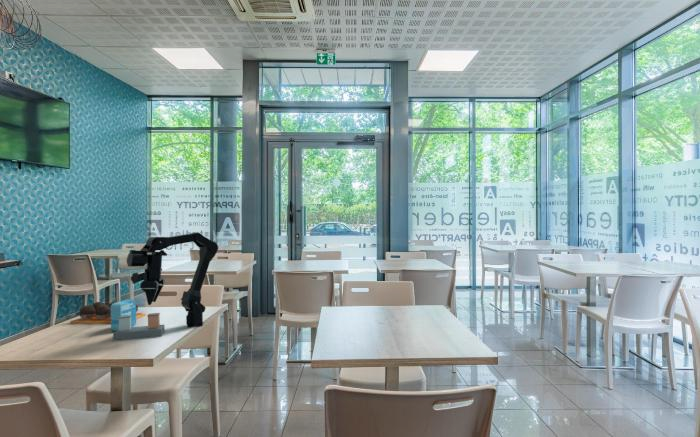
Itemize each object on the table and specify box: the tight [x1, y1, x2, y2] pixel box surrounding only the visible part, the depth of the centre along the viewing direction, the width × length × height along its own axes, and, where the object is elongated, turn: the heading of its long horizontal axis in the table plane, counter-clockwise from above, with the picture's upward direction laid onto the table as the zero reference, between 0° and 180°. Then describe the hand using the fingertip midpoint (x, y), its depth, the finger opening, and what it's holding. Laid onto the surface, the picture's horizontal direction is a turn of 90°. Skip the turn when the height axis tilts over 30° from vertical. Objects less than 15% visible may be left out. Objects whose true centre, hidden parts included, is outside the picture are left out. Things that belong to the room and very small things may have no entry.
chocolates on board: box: [69, 301, 147, 325], centre depth 209 cm, size 28×17×8 cm, turn 85°
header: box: [112, 324, 165, 341], centre depth 177 cm, size 18×8×3 cm, turn 105°
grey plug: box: [118, 315, 131, 331], centre depth 176 cm, size 4×3×8 cm
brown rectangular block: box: [146, 312, 161, 329], centre depth 179 cm, size 4×3×8 cm
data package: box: [110, 299, 137, 332], centre depth 191 cm, size 12×4×12 cm, turn 175°
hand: (151, 303), depth 179 cm, fingers open, 9 cm apart
